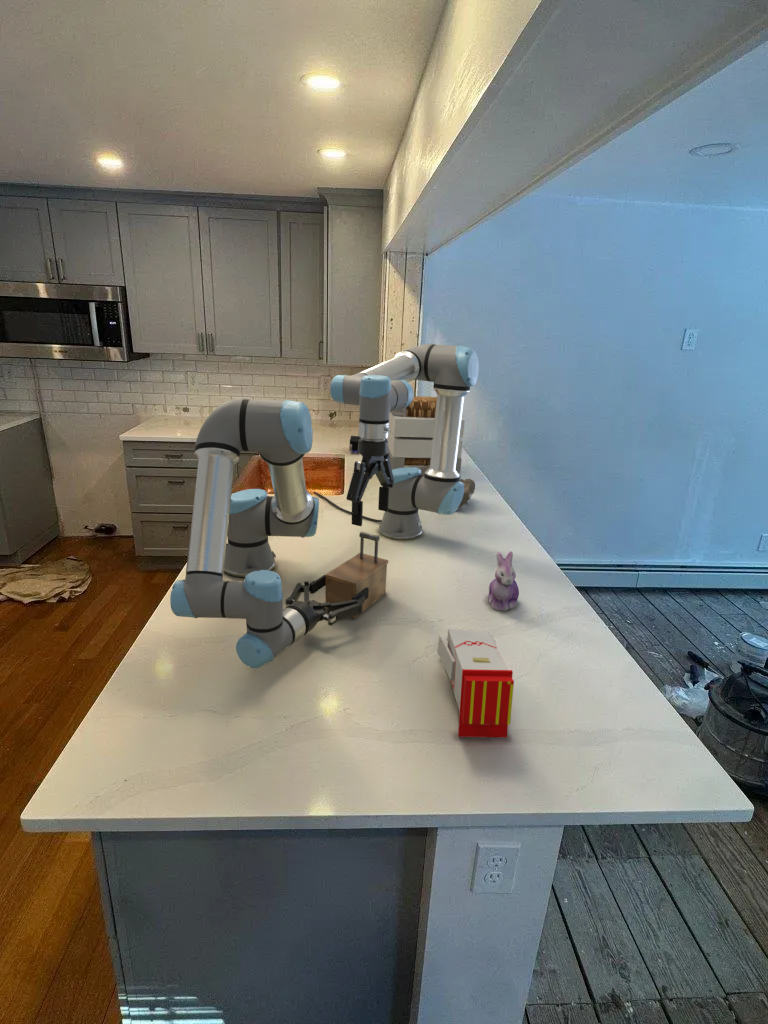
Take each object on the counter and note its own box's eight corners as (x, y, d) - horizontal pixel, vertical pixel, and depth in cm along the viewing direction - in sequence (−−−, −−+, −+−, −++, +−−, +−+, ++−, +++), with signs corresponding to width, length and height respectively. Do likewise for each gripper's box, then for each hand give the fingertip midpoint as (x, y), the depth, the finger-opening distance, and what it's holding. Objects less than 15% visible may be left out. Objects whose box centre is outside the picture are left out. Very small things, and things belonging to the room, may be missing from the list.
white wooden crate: (382, 463, 289) (386, 382, 275) (445, 464, 293) (451, 384, 279) (390, 482, 257) (394, 392, 243) (460, 483, 261) (468, 394, 247)
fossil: (439, 484, 243) (468, 465, 238) (451, 501, 246) (481, 483, 241) (438, 506, 224) (470, 486, 219) (452, 524, 226) (484, 505, 221)
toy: (488, 613, 130) (523, 677, 101) (484, 667, 133) (517, 744, 104) (435, 612, 130) (455, 676, 101) (432, 666, 133) (451, 743, 103)
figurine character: (361, 457, 304) (361, 447, 317) (361, 444, 301) (362, 434, 314) (348, 456, 304) (349, 447, 317) (348, 443, 300) (349, 434, 314)
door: (360, 555, 159) (361, 526, 156) (388, 563, 155) (389, 534, 152) (325, 577, 145) (325, 546, 142) (355, 586, 141) (356, 555, 138)
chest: (357, 585, 162) (358, 556, 159) (385, 593, 158) (387, 564, 154) (325, 608, 148) (325, 577, 145) (354, 618, 144) (355, 587, 141)
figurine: (500, 615, 149) (507, 563, 144) (477, 598, 157) (483, 548, 152) (528, 608, 153) (536, 557, 148) (504, 591, 161) (510, 543, 156)
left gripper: (253, 621, 135) (308, 586, 153) (338, 653, 124) (386, 611, 142) (252, 593, 133) (308, 561, 151) (338, 623, 122) (387, 585, 140)
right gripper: (359, 449, 131) (357, 535, 138) (409, 432, 152) (404, 507, 159) (333, 445, 134) (331, 528, 142) (384, 428, 155) (381, 502, 162)
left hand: (346, 585), depth 146 cm, fingers open, 12 cm apart
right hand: (370, 517), depth 150 cm, fingers open, 13 cm apart
